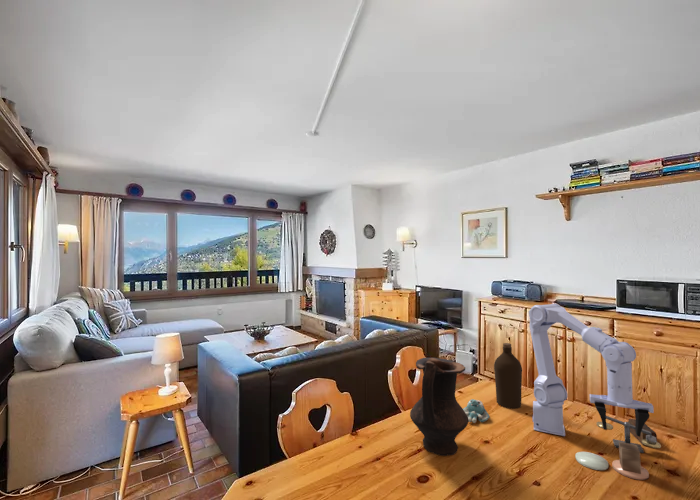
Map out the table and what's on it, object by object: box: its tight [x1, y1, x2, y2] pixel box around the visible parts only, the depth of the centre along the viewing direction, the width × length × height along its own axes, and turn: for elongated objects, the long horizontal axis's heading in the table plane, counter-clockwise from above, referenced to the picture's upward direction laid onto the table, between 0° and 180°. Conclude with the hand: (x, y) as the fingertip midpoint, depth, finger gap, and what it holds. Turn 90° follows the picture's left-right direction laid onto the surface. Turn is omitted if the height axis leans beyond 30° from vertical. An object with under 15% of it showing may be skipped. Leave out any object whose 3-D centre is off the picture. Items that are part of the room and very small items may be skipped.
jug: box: [409, 357, 470, 457], centre depth 110 cm, size 21×18×30 cm
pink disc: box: [611, 459, 650, 481], centre depth 97 cm, size 8×8×1 cm
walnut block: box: [618, 442, 642, 474], centre depth 97 cm, size 4×4×6 cm
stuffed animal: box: [462, 398, 490, 424], centre depth 130 cm, size 11×7×12 cm
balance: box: [595, 415, 662, 454], centre depth 109 cm, size 16×4×9 cm, turn 60°
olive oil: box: [493, 342, 523, 410], centre depth 143 cm, size 11×11×25 cm
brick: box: [627, 418, 658, 447], centre depth 114 cm, size 11×4×5 cm, turn 163°
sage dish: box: [574, 451, 609, 471], centre depth 101 cm, size 8×8×1 cm
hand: (621, 431), depth 99 cm, fingers open, 7 cm apart
